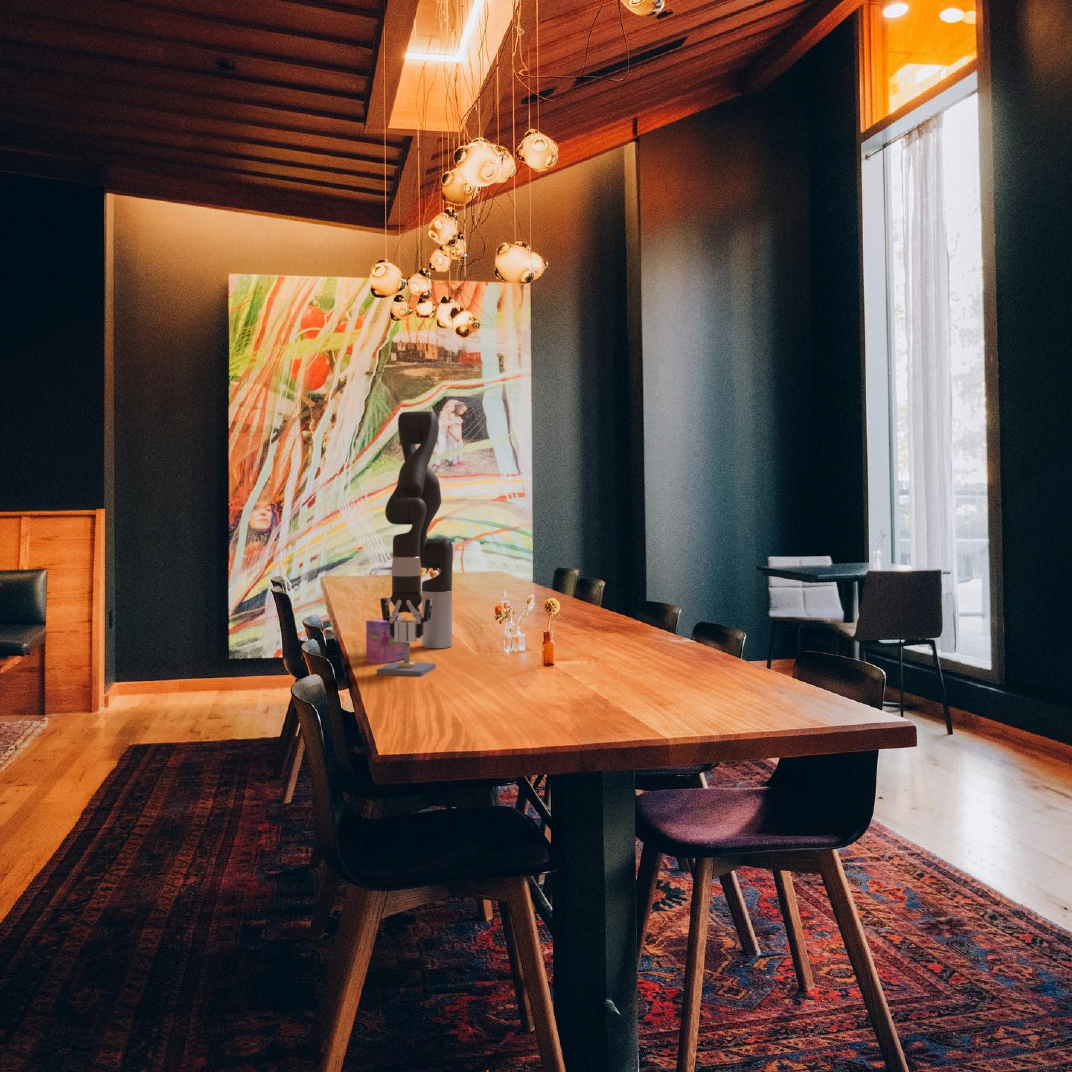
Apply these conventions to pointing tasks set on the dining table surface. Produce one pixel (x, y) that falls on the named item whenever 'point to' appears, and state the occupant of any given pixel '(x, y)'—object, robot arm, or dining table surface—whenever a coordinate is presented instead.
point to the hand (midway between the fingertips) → (406, 637)
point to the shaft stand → (406, 666)
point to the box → (382, 642)
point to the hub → (405, 631)
